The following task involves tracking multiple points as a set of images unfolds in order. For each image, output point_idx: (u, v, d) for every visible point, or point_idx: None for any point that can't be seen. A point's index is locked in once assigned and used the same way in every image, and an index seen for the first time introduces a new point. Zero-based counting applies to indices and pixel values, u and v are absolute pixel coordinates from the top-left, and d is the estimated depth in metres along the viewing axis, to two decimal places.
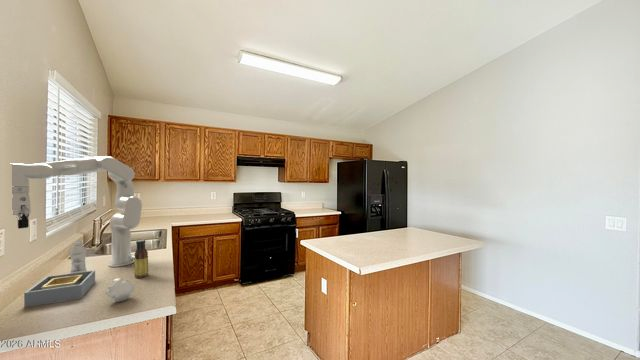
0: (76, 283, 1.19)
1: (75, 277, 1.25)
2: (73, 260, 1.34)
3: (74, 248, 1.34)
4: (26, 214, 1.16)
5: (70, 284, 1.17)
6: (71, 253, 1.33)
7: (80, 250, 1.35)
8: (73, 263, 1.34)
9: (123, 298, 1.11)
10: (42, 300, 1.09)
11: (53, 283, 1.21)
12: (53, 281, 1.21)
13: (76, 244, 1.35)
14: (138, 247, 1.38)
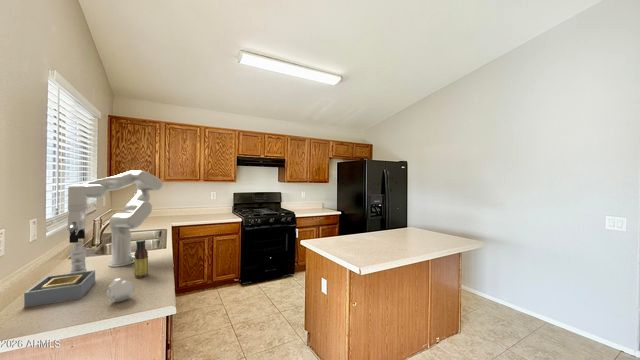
0: (76, 283, 1.19)
1: (75, 277, 1.25)
2: (73, 260, 1.34)
3: (74, 248, 1.34)
4: None
5: (70, 284, 1.17)
6: (71, 253, 1.33)
7: (80, 250, 1.35)
8: (73, 263, 1.34)
9: (123, 298, 1.11)
10: (42, 300, 1.09)
11: (53, 283, 1.21)
12: (53, 281, 1.21)
13: (76, 244, 1.35)
14: (138, 247, 1.38)
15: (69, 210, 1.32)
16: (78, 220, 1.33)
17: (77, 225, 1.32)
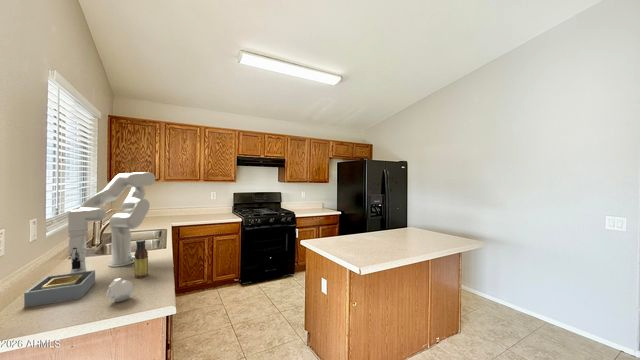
0: (76, 283, 1.19)
1: (75, 277, 1.25)
2: None
3: None
4: None
5: (70, 284, 1.17)
6: None
7: None
8: None
9: (123, 298, 1.11)
10: (42, 300, 1.09)
11: (53, 283, 1.21)
12: (53, 281, 1.21)
13: None
14: (138, 247, 1.38)
15: (70, 236, 1.33)
16: (79, 245, 1.33)
17: (78, 250, 1.33)
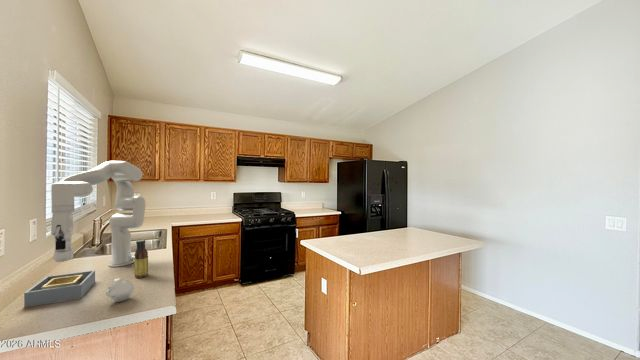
0: (76, 283, 1.19)
1: (75, 277, 1.25)
2: None
3: None
4: None
5: (70, 284, 1.17)
6: None
7: None
8: None
9: (123, 298, 1.11)
10: (42, 300, 1.09)
11: (53, 283, 1.21)
12: (53, 281, 1.21)
13: None
14: (138, 247, 1.38)
15: (53, 211, 1.16)
16: (63, 223, 1.16)
17: (62, 228, 1.16)
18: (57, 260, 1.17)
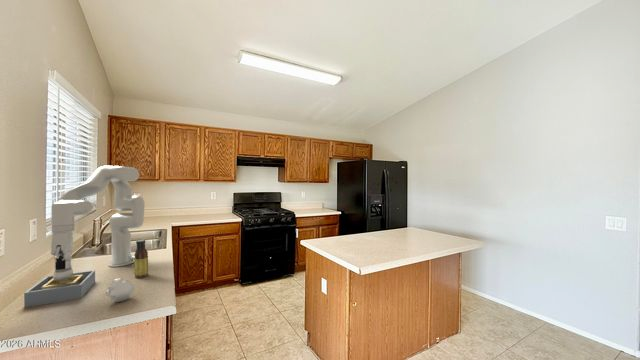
0: (76, 283, 1.19)
1: (75, 277, 1.25)
2: None
3: None
4: None
5: (70, 284, 1.17)
6: None
7: None
8: None
9: (123, 298, 1.11)
10: (42, 300, 1.09)
11: (53, 283, 1.21)
12: (53, 281, 1.21)
13: None
14: (138, 247, 1.38)
15: (53, 231, 1.16)
16: (63, 243, 1.16)
17: (62, 248, 1.16)
18: (57, 280, 1.17)
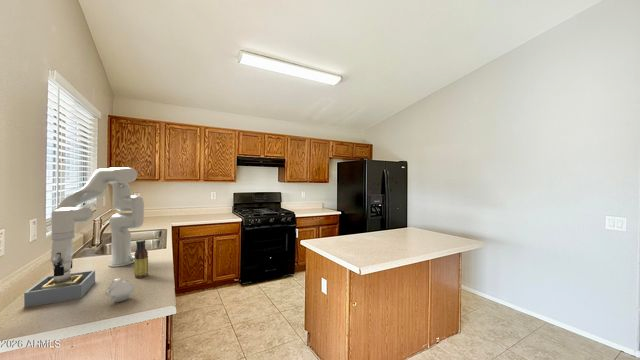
0: (76, 283, 1.19)
1: (75, 277, 1.25)
2: None
3: None
4: None
5: (70, 284, 1.17)
6: (53, 263, 1.16)
7: None
8: None
9: (123, 298, 1.11)
10: (42, 300, 1.09)
11: None
12: (53, 281, 1.21)
13: None
14: (138, 247, 1.38)
15: (53, 239, 1.16)
16: (63, 250, 1.16)
17: (62, 256, 1.16)
18: None
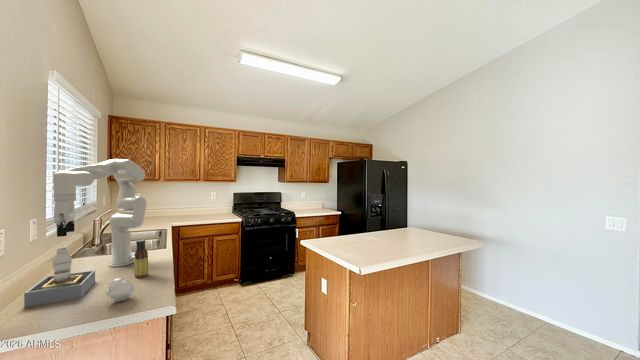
0: (76, 283, 1.19)
1: (75, 277, 1.25)
2: (56, 270, 1.16)
3: (57, 257, 1.17)
4: None
5: (70, 284, 1.17)
6: (54, 263, 1.16)
7: (64, 259, 1.17)
8: (56, 274, 1.16)
9: (123, 298, 1.11)
10: (42, 300, 1.09)
11: None
12: (53, 281, 1.21)
13: (59, 252, 1.17)
14: (138, 247, 1.38)
15: (55, 200, 1.18)
16: (66, 211, 1.19)
17: (65, 217, 1.18)
18: None
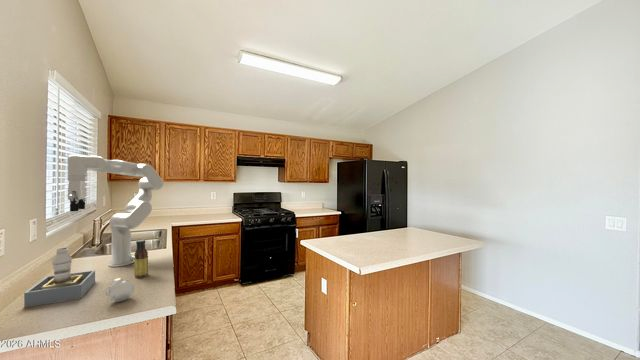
0: (76, 283, 1.19)
1: (75, 277, 1.25)
2: (56, 270, 1.16)
3: (57, 257, 1.17)
4: None
5: (70, 284, 1.17)
6: (54, 263, 1.16)
7: (64, 259, 1.17)
8: (56, 274, 1.16)
9: (123, 298, 1.11)
10: (42, 300, 1.09)
11: None
12: (53, 281, 1.21)
13: (59, 252, 1.17)
14: (138, 247, 1.38)
15: (69, 179, 1.35)
16: (78, 189, 1.35)
17: (77, 194, 1.35)
18: None
